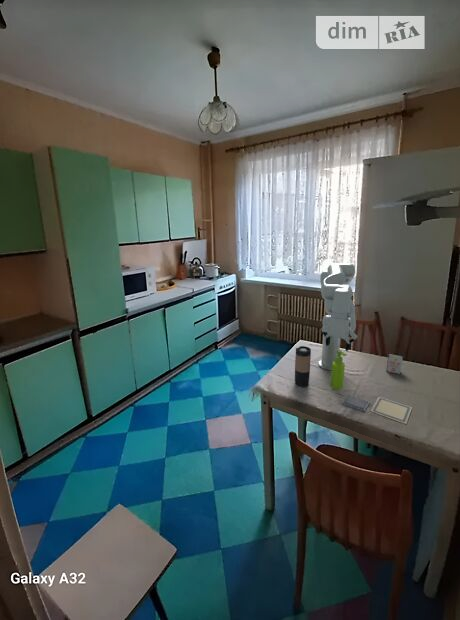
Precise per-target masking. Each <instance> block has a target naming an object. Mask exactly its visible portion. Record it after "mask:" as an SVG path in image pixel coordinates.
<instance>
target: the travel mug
mask: <svg viewBox="0 0 460 620" xmlns="http://www.w3.org/2000/svg"><path fill="white" fill-rule="evenodd" d="M311 357H312V349H311V348H310V347H308V346H305V345H304V346H302V345H300V346H298V347H296V348H295V359H294V384H295V386H297V387H300V388H306V387H308V386H309V384H310V373H311Z"/></svg>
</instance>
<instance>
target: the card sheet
mask: <svg viewBox="0 0 460 620" xmlns="http://www.w3.org/2000/svg"><path fill="white" fill-rule="evenodd" d="M412 410H413V407H412V406H409V405H406V404H404V403H403V404H402V403H400V402H398V401H393V400H390V399H388V398H385V397H382V396H378V397H377V399H376V401H375V402H374V404H373V406H372V408H371V409H370V412H371V413H373V414H376V415H379V416H382V417H384V418H387V419H390V420H393V421H395V422H399V423H401V424H404V425H407V423H408V420H409V418H410V416H411V412H412Z"/></svg>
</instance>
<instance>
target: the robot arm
mask: <svg viewBox="0 0 460 620" xmlns="http://www.w3.org/2000/svg"><path fill="white" fill-rule="evenodd" d="M355 275H356V268H355V265H354V264H353V263H349V262H337V263H335V262H334V263H331V264H330V265H328V267H327V268H326V270H323V271H322V272H321V273H320V275H319V276H320V277H319V278H320V293H321V297H322V299H323V300H324V310H325V312H326V314H325V315H324V316H323V317H322V322H321V323H322V327H321V332H322V349H321V359H320V360H319V361H318V366H319V367H320V368H322V369H323V370H326V371H327V370H328V371H332V363H333V362H334V361H335V357H336V356H337V355H338V353H337V352H336V351H338V350H340V347H341V339H342V340H345V342H346V343H345V352H348V351H349V350H351V346H352V345H351V343H353V342H354V341H356V339H357V338H358V335H357V334H356V333H355V332H354V331H355V330H356V326H357V324H356V323H357V321H356V313H355V312H356V311H355V309H356V308H355V303H354V301H353V300H352V296H353V288H352V287H351V286H350V285H349V284H351V282H352V281H353V279H354V278H355ZM351 336H352V338H351ZM340 351H341V350H340Z"/></svg>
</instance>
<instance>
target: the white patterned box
mask: <svg viewBox="0 0 460 620" xmlns="http://www.w3.org/2000/svg"><path fill="white" fill-rule="evenodd" d="M403 359H404V357H403V356H401V355H395V354H391V353H389V354H388V356H387V362H386V367H385V368H386V369H385V372H386V371H388V372H387V373H391V372H393V373H392V374H395V373H398V374H397V375H399V374H400V375H401V370H402V366H403V365H402V364H403Z"/></svg>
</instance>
